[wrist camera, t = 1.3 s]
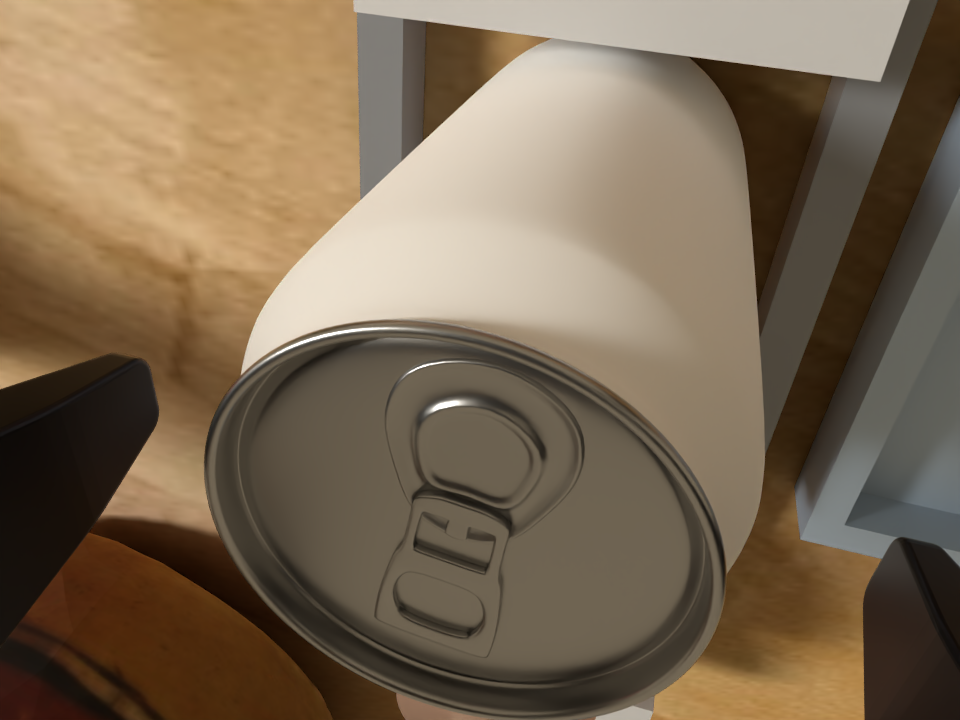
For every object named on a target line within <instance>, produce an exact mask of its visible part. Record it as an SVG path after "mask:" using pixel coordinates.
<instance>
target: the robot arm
mask: <svg viewBox="0 0 960 720" xmlns="http://www.w3.org/2000/svg"><path fill="white" fill-rule="evenodd" d="M158 417H159V406H158V402H157V397H156V392H155V388H154V383H153V379H152V374H151V369H150V366H149V365H148V363H147V362H146V361H145V360H143V359H142V358H139V357H135V356H131V355H126V354H122V353H110V354H107V355H104V356H100V357H97V358H94V359H91V360H88V361H85V362H82V363H79V364H76V365H73V366H70V367H67V368H64V369H61V370H58V371H55V372H52V373H49V374H46V375H42V376H39V377H36V378H33V379H30V380H27V381H24V382H21V383H18V384H15V385H12V386H9V387H6V388H3V389H0V647H1V646H2V645H3V644H4V642H5V641H6V640H7V638H8V637H9V636H10V634H11V633H12V632H13V631H14V629H15V628H16V627H17V625H18V624H19V623H20V621H21V620H22V619H23V618H24V616H25V615H26V614H27V612H28V611H29V610H30V608H31V607H32V606H33V605H34V603H35V602H36V601H37V599H38V598H39V597H40V595H41V594H42V593H43V591H44V590H45V589H46V588H47V586H48V585H49V584H50V582H51V581H52V580H53V578H54V577H55V576H56V575H57V573H58V572H59V571H60V569H61V568H62V567H63V565H64V564H65V563H66V562H67V560H68V559H69V558H70V556H71V555H72V554H73V552H74V551H75V550H76V549H77V547H78V546H79V545H80V543H81V542H82V541H83V539H84V538H85V537H86V535H87V534H88V533H89V531H90V530H91V529H92V527H93V526H94V524H95V523H96V521H97V520H98V518H99V517H100V515H101V514H102V512H103V511H104V509H105V508H106V506H107V505H108V503H109V501H110V500H111V498H112V497H113V495H114V493H115V492H116V490H117V488H118V487H119V485H120V484H121V482H122V480H123V479H124V477H125V476H126V474H127V472H128V471H129V469H130V467H131V466H132V464H133V463H134V461H135V459H136V458H137V456H138V455H139V453H140V451H141V450H142V448H143V446H144V445H145V443H146V442H147V440H148V438H149V437H150V435H151V433H152V432H153V430H154V428H155V426H156V424H157V421H158ZM863 638H864V712H865V720H960V566H959V565H958V564H957V563H956V562H955V561H954V560H953V559H952V558H951V557H950V555H949V554H948V553H947V552H946V551H945V550H944V549H943V548H941V547H940V546H938V545H936V544H933V543H929V542H924V541H920V540H916V539H912V538H907V537H899V538H896V539H895V540H894V541H893V542H892V543H891V544H890V545H889V547H888V549H887V551H886V553H885V554H884V556H883V558H882V560H881V562H880V563H879V565H878V567H877V569H876V571H875V572H874V574H873V576H872V578H871V580H870V581H869V583H868V585H867V588H866V591H865V595H864V601H863Z"/></svg>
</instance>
